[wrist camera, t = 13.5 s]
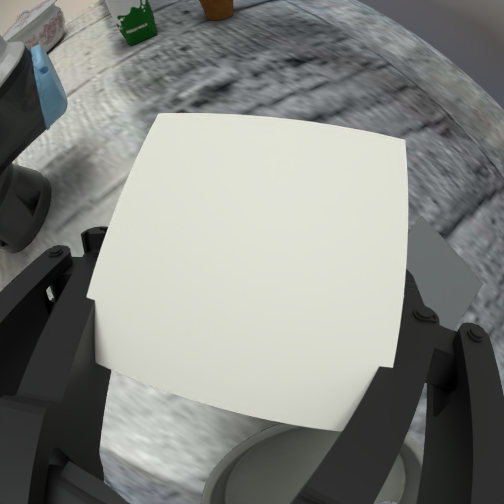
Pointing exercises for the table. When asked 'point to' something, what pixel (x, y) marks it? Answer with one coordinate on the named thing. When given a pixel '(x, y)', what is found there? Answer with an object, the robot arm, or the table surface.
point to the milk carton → (133, 19)
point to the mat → (440, 274)
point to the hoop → (297, 468)
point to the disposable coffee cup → (217, 8)
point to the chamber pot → (38, 27)
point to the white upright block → (256, 265)
